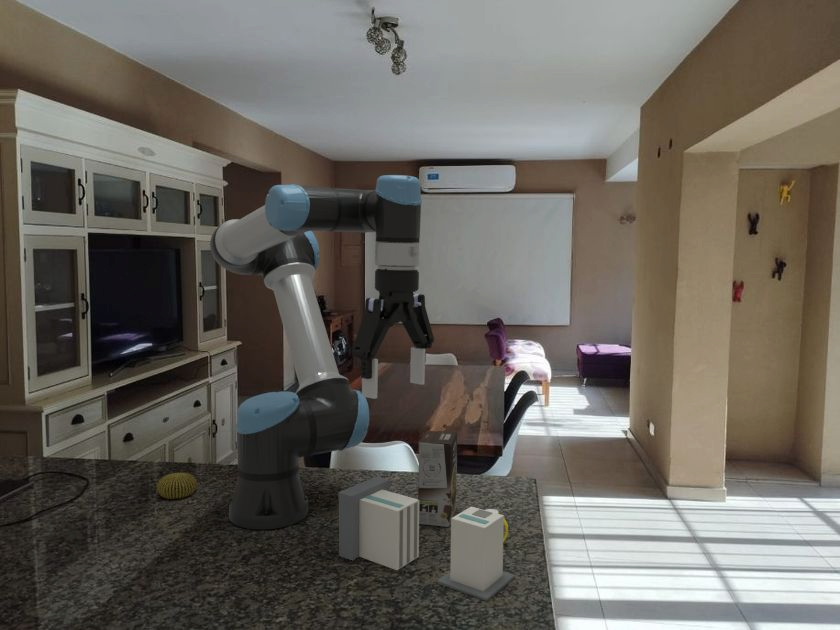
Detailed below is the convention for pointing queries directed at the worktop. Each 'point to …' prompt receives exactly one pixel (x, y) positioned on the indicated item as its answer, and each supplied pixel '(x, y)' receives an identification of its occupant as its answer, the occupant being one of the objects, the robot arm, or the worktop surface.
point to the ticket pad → (378, 524)
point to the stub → (476, 548)
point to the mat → (475, 592)
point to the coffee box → (437, 478)
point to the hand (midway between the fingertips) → (394, 390)
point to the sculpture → (176, 485)
